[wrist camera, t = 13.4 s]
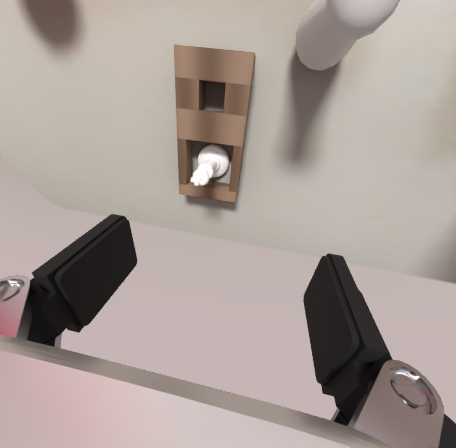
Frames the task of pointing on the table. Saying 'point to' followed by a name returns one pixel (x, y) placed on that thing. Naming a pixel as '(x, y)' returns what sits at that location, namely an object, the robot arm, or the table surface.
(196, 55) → the socket plate
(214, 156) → the chess piece
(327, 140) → the table surface
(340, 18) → the salt shaker
